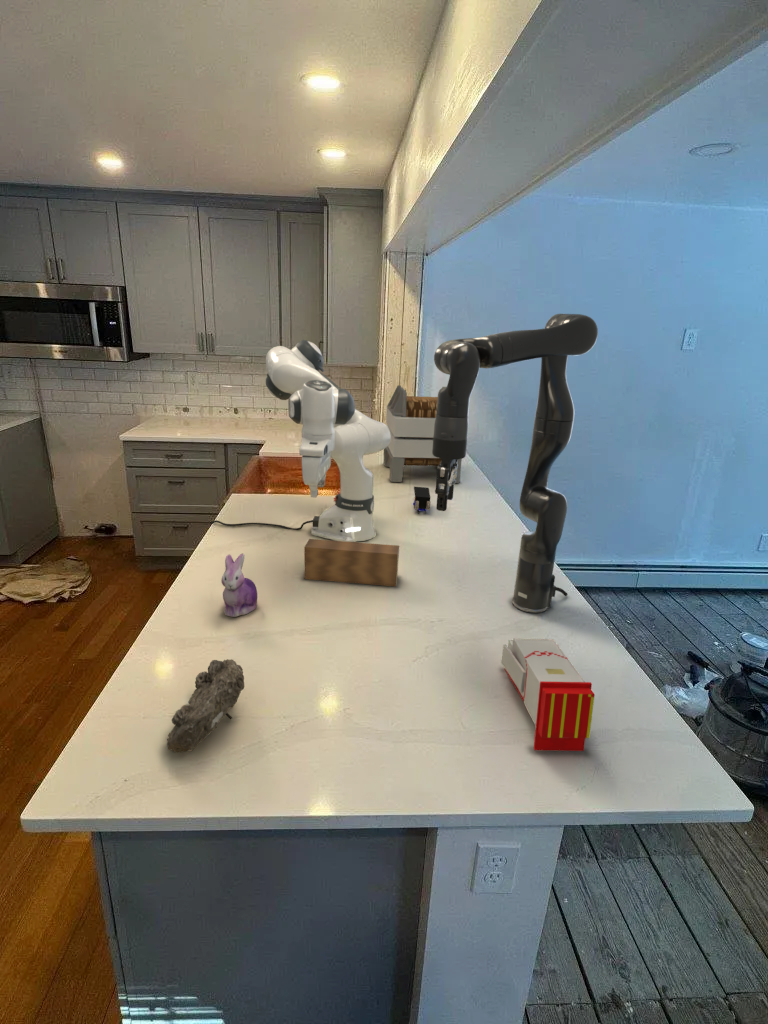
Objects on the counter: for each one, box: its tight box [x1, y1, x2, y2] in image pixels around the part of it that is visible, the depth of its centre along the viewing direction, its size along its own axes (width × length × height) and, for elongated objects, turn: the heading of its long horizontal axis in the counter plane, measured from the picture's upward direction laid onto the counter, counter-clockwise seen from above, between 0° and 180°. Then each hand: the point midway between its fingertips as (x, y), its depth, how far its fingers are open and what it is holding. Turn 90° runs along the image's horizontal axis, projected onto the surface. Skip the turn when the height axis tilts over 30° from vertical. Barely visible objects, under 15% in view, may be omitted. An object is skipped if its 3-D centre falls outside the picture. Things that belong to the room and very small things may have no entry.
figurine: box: [220, 553, 258, 618], centre depth 144 cm, size 9×10×15 cm
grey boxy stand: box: [383, 384, 463, 484], centre depth 268 cm, size 34×33×41 cm
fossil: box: [166, 658, 245, 754], centre depth 106 cm, size 22×10×15 cm
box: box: [303, 538, 400, 587], centre depth 164 cm, size 27×6×10 cm, turn 85°
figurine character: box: [412, 486, 431, 515], centre depth 224 cm, size 7×8×15 cm
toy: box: [500, 637, 595, 752], centre depth 114 cm, size 12×13×30 cm
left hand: (317, 491), depth 158 cm, fingers open, 8 cm apart
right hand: (444, 504), depth 131 cm, fingers open, 8 cm apart
